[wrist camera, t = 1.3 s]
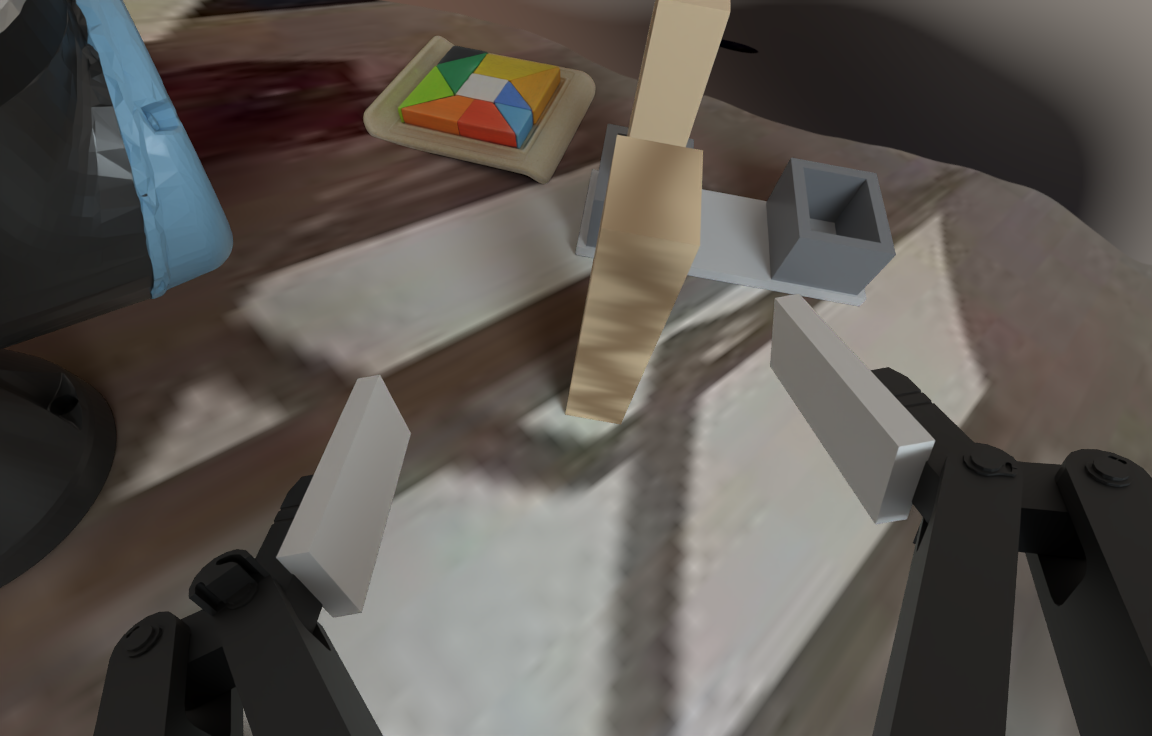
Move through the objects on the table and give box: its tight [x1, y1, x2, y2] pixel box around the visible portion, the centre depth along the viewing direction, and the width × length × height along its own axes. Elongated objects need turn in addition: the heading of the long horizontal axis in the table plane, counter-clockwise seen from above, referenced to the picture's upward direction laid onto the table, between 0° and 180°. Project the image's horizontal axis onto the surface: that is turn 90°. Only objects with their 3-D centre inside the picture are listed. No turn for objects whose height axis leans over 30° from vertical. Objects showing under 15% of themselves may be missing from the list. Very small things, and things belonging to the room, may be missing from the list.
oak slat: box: [565, 135, 703, 424], centre depth 29 cm, size 4×6×18 cm, turn 171°
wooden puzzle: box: [363, 36, 595, 184], centre depth 50 cm, size 18×19×4 cm
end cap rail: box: [576, 0, 896, 306], centre depth 37 cm, size 25×10×19 cm, turn 81°
